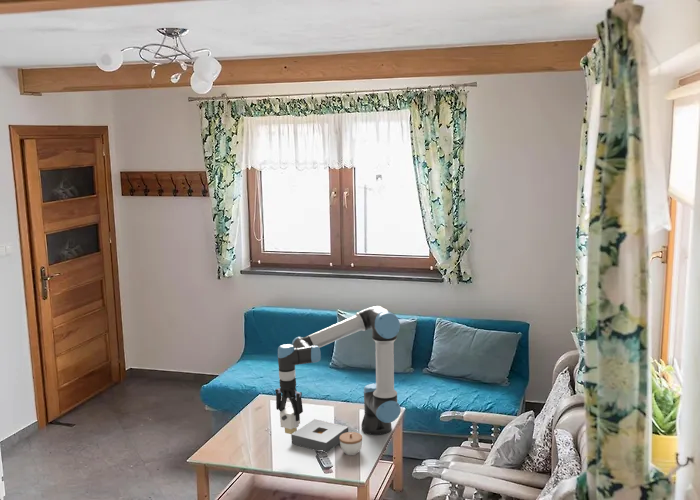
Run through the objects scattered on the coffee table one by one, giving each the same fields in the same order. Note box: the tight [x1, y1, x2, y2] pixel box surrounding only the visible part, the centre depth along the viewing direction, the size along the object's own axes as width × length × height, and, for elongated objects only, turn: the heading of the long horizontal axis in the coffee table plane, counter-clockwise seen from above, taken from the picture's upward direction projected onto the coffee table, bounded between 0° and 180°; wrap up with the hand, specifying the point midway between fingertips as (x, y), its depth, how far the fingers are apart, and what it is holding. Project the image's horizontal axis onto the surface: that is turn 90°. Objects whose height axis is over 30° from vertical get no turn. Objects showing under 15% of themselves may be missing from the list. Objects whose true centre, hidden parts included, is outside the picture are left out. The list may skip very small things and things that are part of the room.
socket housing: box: [290, 418, 349, 453], centre depth 339 cm, size 20×20×5 cm
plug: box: [279, 406, 301, 435], centre depth 320 cm, size 6×9×10 cm
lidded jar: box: [339, 431, 363, 456], centre depth 325 cm, size 11×11×9 cm
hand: (290, 425), depth 321 cm, fingers closed on plug, 6 cm apart
